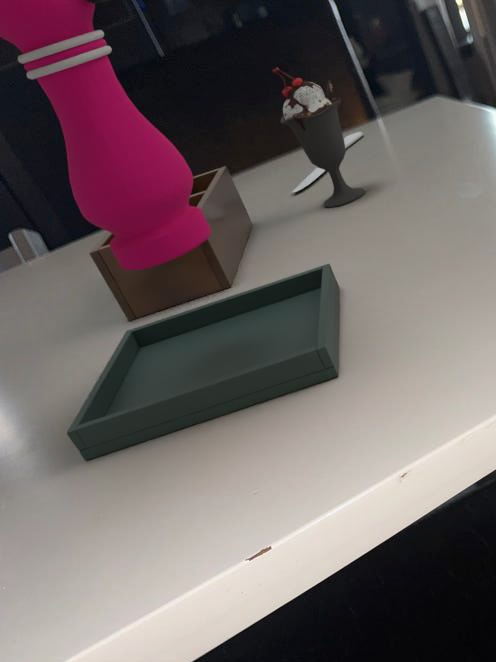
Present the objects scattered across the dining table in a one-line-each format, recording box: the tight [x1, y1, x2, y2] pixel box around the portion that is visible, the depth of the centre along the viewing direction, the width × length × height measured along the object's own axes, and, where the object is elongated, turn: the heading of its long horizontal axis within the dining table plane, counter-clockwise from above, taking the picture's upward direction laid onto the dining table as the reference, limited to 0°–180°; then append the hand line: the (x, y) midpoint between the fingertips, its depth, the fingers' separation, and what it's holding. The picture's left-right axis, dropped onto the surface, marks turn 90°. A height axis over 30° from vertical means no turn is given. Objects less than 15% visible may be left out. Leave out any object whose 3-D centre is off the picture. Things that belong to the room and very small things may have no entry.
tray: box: [66, 263, 341, 462], centre depth 56 cm, size 17×15×2 cm
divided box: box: [89, 165, 253, 322], centre depth 78 cm, size 10×19×7 cm, turn 10°
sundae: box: [271, 66, 366, 208], centre depth 82 cm, size 7×7×15 cm
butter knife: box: [291, 131, 364, 194], centre depth 103 cm, size 1×24×3 cm
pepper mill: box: [0, 0, 211, 270], centre depth 47 cm, size 7×7×20 cm
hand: (45, 16), depth 44 cm, fingers closed on pepper mill, 6 cm apart
